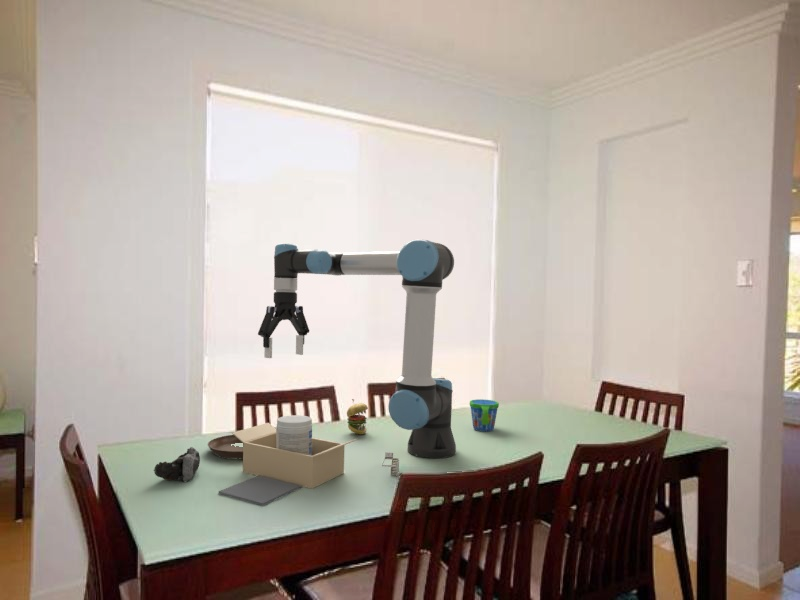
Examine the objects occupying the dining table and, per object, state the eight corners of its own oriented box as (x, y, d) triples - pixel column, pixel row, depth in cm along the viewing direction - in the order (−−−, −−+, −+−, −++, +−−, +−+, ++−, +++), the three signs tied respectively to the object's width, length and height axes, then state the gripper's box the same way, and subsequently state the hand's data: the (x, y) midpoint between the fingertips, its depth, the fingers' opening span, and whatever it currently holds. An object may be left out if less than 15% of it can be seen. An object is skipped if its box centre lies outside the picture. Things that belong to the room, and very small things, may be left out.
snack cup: (470, 423, 214) (471, 396, 214) (498, 425, 212) (499, 398, 212) (467, 433, 199) (468, 405, 199) (497, 436, 197) (498, 407, 197)
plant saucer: (221, 441, 181) (221, 431, 181) (285, 444, 181) (285, 433, 181) (196, 461, 161) (196, 449, 161) (268, 464, 160) (268, 452, 160)
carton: (356, 475, 151) (357, 438, 151) (325, 491, 139) (326, 451, 139) (267, 456, 166) (267, 422, 166) (231, 469, 154) (232, 432, 154)
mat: (301, 487, 141) (301, 485, 141) (262, 505, 129) (262, 503, 129) (259, 477, 148) (259, 475, 148) (218, 493, 136) (218, 491, 136)
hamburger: (362, 437, 190) (363, 402, 190) (342, 434, 193) (343, 400, 192) (370, 431, 198) (371, 398, 197) (351, 429, 200) (352, 396, 200)
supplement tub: (317, 474, 151) (318, 420, 151) (283, 480, 146) (285, 424, 146) (302, 464, 159) (303, 413, 159) (270, 470, 154) (271, 416, 154)
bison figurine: (200, 469, 154) (161, 469, 152) (202, 444, 154) (163, 443, 151) (194, 485, 142) (152, 485, 140) (196, 457, 142) (154, 457, 140)
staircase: (384, 472, 156) (385, 452, 156) (398, 472, 156) (399, 453, 156) (381, 479, 150) (382, 459, 150) (396, 480, 150) (396, 460, 150)
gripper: (304, 291, 196) (303, 352, 197) (247, 290, 176) (246, 358, 176) (320, 292, 192) (319, 354, 192) (263, 291, 172) (262, 360, 172)
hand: (284, 356), depth 184 cm, fingers open, 13 cm apart
